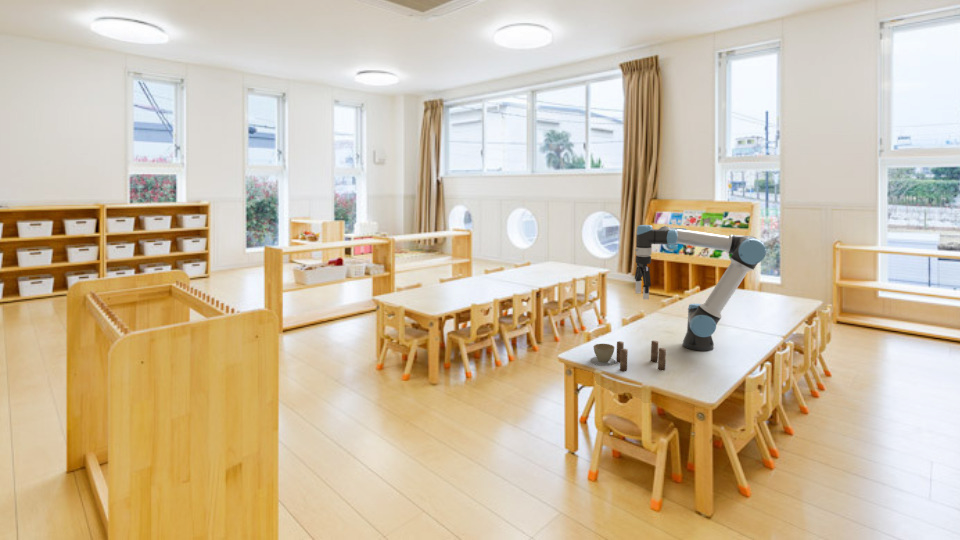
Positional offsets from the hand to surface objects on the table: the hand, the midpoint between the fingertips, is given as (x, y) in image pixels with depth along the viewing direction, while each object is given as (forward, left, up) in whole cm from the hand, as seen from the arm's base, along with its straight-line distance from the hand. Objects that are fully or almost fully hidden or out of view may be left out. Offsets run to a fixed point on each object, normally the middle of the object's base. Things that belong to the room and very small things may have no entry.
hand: (641, 296), depth 269 cm
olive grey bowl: (+23, +17, -28) cm, 40 cm away
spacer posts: (+7, +23, -29) cm, 37 cm away
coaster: (+23, +17, -29) cm, 41 cm away
